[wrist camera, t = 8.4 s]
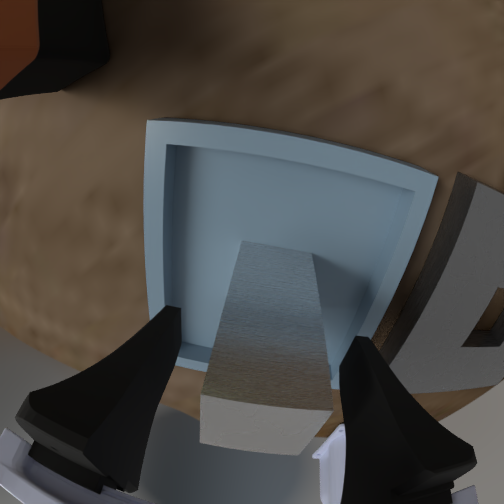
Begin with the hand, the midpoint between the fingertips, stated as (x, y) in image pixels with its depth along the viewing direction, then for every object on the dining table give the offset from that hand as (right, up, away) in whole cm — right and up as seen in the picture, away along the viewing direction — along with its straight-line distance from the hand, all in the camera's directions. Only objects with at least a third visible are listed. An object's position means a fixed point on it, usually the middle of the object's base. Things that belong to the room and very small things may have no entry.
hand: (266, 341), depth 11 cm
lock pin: (0, +2, +4) cm, 5 cm away
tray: (0, +3, +5) cm, 5 cm away
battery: (-10, +16, -1) cm, 19 cm away
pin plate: (+17, 0, +5) cm, 18 cm away
